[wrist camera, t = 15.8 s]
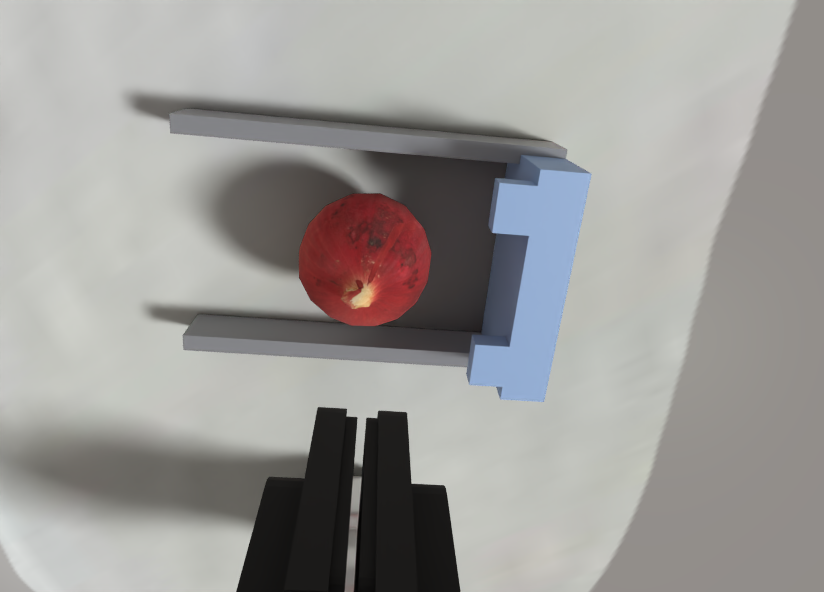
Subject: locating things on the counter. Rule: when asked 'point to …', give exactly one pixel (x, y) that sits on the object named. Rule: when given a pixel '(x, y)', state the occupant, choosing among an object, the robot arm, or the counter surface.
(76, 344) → the counter surface
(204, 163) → the counter surface
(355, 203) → the pomegranate
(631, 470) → the counter surface
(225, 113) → the grey parallel strips
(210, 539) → the counter surface
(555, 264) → the blue bracket
